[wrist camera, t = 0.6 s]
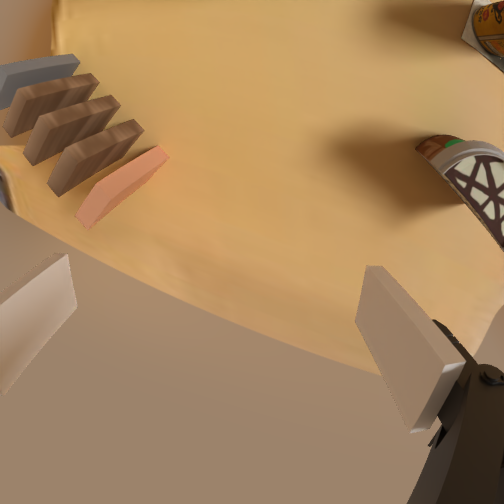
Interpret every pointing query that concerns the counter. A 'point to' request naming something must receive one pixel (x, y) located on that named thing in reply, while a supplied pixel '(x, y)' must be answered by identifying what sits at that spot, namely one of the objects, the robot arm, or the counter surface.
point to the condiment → (486, 30)
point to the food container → (471, 176)
